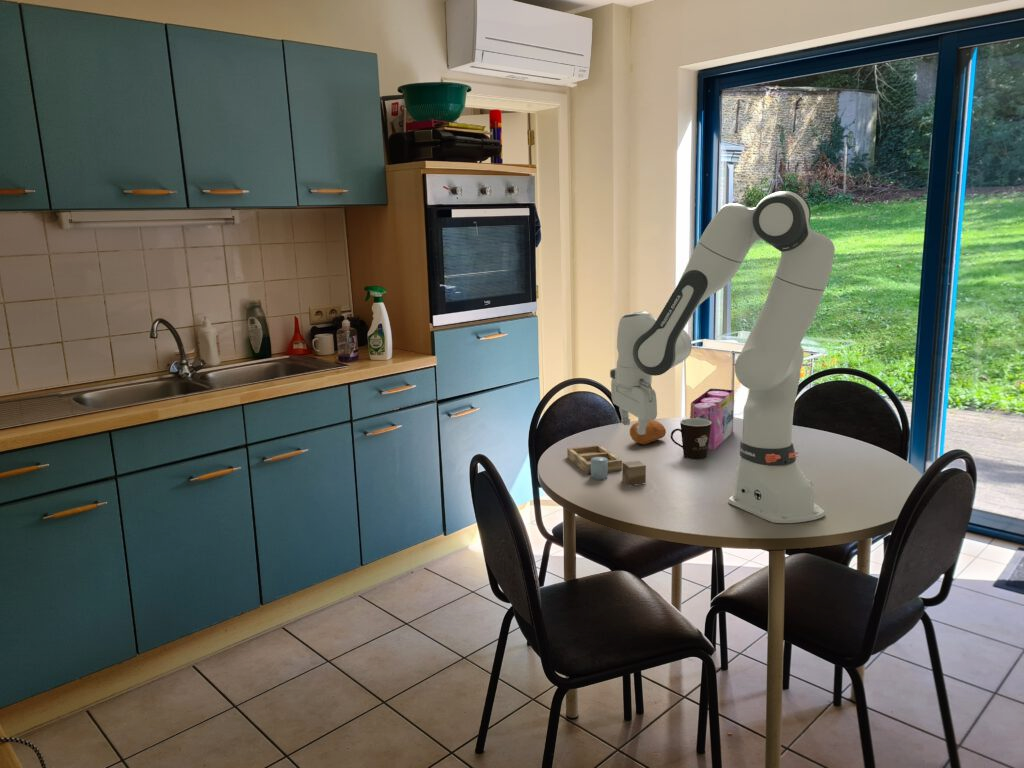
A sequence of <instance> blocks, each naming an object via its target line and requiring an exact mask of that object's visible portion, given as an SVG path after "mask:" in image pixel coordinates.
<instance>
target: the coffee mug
mask: <svg viewBox="0 0 1024 768" xmlns="http://www.w3.org/2000/svg"><path fill="white" fill-rule="evenodd" d="M679 422H680V428H675V429H673V430H672V431H671V432H670V440H671V441H672V442H673V443H674V444H675V445H677V446H678V447H680V448H682V453H683V457H684V458H685V459H688V460H704V459H706V458H707V455H708V450H709V449H708V444H709V437H710V430H711V423H712V422H711V421H709V420H705V419H698V418H690V417H689V418H685V419H682V420H680V421H679ZM677 431H678V432H680V433H681V444H680V443H679V442H677V441H676V440H675V439H674V437H673V436H674V434H675V432H677Z"/></svg>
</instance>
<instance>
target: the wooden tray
mask: <svg viewBox="0 0 1024 768" xmlns="http://www.w3.org/2000/svg"><path fill="white" fill-rule="evenodd" d="M566 449H567V458H568V459H569V460H570V461H571V462H572V461H573V462H572V463H574V464H575V465H576V466H577V465H578V466H579V469H581V470H582V471H583V472H584V471H585V472H584V473H585V474H586V475H590V474H589V473H591V458H594V457H605V458H607V459H608V471H610V472H615V471H614V470H618V471H622V462H623V460H622V459H621V458H619V457H618V456H617V455H615V454H613V453H612V452H611V451H610V450H608V449H606V448H605V447H603V446H602V445H601V444H594V445H586V446H585V445H583V446H578V447H577V446H576V447H568V448H566ZM578 466H577V467H578Z"/></svg>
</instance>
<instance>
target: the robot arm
mask: <svg viewBox="0 0 1024 768" xmlns="http://www.w3.org/2000/svg"><path fill="white" fill-rule="evenodd" d="M810 220H811V208H810V206H809V203H808V201H807V200H806V198H804V197H803V196H802V195H800V194H798V193H795V192H792V191H790V190H789V191H788V190H781V191H776V192H773V193H771V194H768V195H766V196H764V197H763V198H762V199H761V200H760V201H759V202H758V203H757V205H756V206H755V207H749V206H746V205H745V204H741V203H727V204H724V205H723V206H722V207H721V208H720V209H719V210H718V211H717V213H716V214H715V215H714V216H713V218H712V219H711V220H710V222H709V223H708V225H707V226H706V228H705V229H704V231H703V233H702V234H701V236H700V238H699V240H698V242H697V244H696V245H695V247H694V249H693V251H692V253H691V255H690V258H689V260H688V262H687V265H686V267H685V269H684V271H683V273H682V275H681V277H680V279H679V280H678V283H677V285H676V287H675V289H674V290H673V292H672V294H670V297H669V298H668V300H667V302H666V304H665V305H664V307H663V309H662V310H661V312H660V314H659V316H658V317H657V318H656V317H655V316H654V315H653V313H651V312H649V311H638V312H632V313H627V314H625V315H623V316H622V317H620V319H619V322H618V328H617V334H616V335H617V337H616V349H617V353H618V356H617V360H616V367H615V368H612V369H610V370H609V377H610V378H611V382H610V385H611V386H610V388H611V389H610V392H611V400H612V403H613V404H614V405H616V406H617V407H619V409H618V410H619V413H620V417H621V422H620V423H621V424H622V425H624V426H629V425H631V418H630V417H629V416H630V414H631V415H633V416H634V417H637V419H638V420H637V422H639V425H638V427H637V433H638V434H640V435H644V434H645V433H646V426H647V424H648V421H649V420H654V421H656V419H657V417H658V405H657V404H658V403H657V402H658V401H657V392H656V391H655V390H654V388H652V383H653V376H654V377H655V376H661V375H663V374H665V373H667V372H668V371H669V370H670V369H672V368H674V367H676V366H678V365H679V364H682V363H683V362H684V361H686V359H687V358H689V356H690V354H691V352H692V339H691V337H690V336H689V334H688V332H687V331H685V330H684V329H685V328H686V327H687V326H686V325H687V324H688V323H689V321H690V319H691V317H692V316H693V315H694V313H695V311H696V310H697V308H699V306H700V305H701V304H703V302H705V300H707V299H708V298H709V297H711V296H712V295H714V294H715V293H717V292H718V291H720V290H722V289H723V288H724V287H726V286H727V285H728V283H729V282H730V281H731V280H732V279H733V277H734V276H735V275H736V273H737V272H738V270H739V269H740V268H741V266H742V264H743V262H744V261H745V258H746V257H747V254H748V253H749V251H750V250H751V248H752V247H753V246H754V244H755V243H756V242H758V241H761V240H763V241H764V242H765V243H767V244H769V245H770V246H772V247H773V248H775V249H776V250H778V251H779V252H781V253H780V254H781V255H780V259H779V262H778V266H777V269H776V271H775V274H774V277H773V280H772V282H771V285H770V288H769V290H768V293H767V297H766V300H765V302H764V304H763V307H762V309H761V312H760V313H759V315H758V317H757V319H756V321H755V323H754V325H753V326H752V328H751V330H750V332H749V335H748V336H747V338H746V341H745V343H744V345H743V347H742V350H741V352H740V353H739V355H738V356H737V358H736V360H735V363H734V373H735V376H736V379H737V381H738V382H739V383H740V384H741V385H742V386H743V387H745V388H746V389H749V390H748V395H747V398H746V401H745V404H744V407H743V417H742V419H743V420H742V439H741V440H740V445H739V455H740V457H741V458H740V460H739V463H738V465H737V466H736V469H735V472H734V482H733V489H732V495H731V496H730V497H728V501H727V502H728V504H730V505H732V506H734V507H737V508H739V509H741V510H744V511H746V512H748V513H751V514H752V515H755V516H756V517H759V518H761V519H764V520H766V521H768V522H770V523H774V524H776V523H777V524H797V523H804V522H811V521H815V520H818V519H821V518H823V517H825V515H826V511H825V510H824V509H823V508H821V507H820V505H818V504H817V503H815V497H814V495H815V494H814V488H813V482H812V481H811V480H810V479H807V477H806V476H805V474H804V473H803V471H802V470H801V468H800V467H799V466H798V464H797V462H796V461H797V458H799V456H798V454H799V452H798V451H796V449H795V447H794V443H793V442H792V440H793V439H792V437H793V424H794V423H793V421H794V410H795V403H796V398H797V393H798V391H799V390H798V389H799V383H800V379H801V378H800V377H801V372H802V371H801V370H802V365H803V362H804V357H805V354H804V349H803V346H802V345H801V343H802V341H803V340H804V337H805V336H806V334H807V332H808V330H809V328H810V327H811V326H812V324H813V321H814V319H815V316H816V314H817V311H818V309H819V307H820V303H821V300H822V298H823V296H824V292H825V291H826V287H827V285H828V282H829V279H830V276H831V272H832V269H833V263H834V257H835V253H836V249H835V245H834V243H833V241H832V240H831V239H830V238H829V237H827V236H826V235H825V234H823V233H819V232H816V231H815V230H813V229H812V228H811V226H810Z"/></svg>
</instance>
